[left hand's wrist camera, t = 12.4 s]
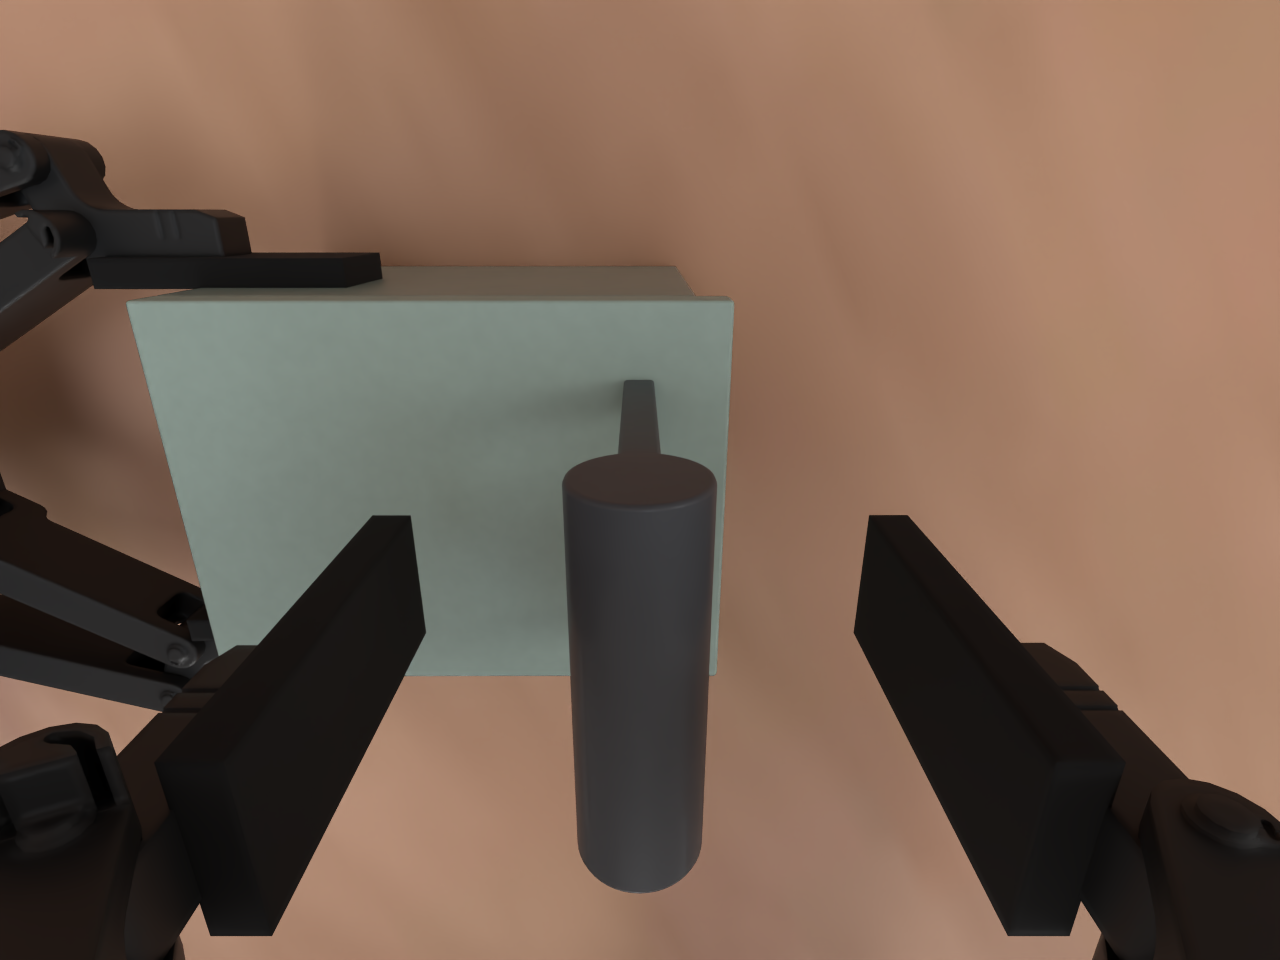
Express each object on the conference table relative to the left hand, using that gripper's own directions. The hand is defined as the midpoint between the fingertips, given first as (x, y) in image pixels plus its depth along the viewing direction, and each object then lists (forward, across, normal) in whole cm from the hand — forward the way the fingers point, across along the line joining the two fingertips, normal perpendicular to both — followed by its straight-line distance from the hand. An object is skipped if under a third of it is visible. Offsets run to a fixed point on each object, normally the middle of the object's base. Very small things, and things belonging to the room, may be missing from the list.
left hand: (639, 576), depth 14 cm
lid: (+4, +5, 0) cm, 6 cm away
